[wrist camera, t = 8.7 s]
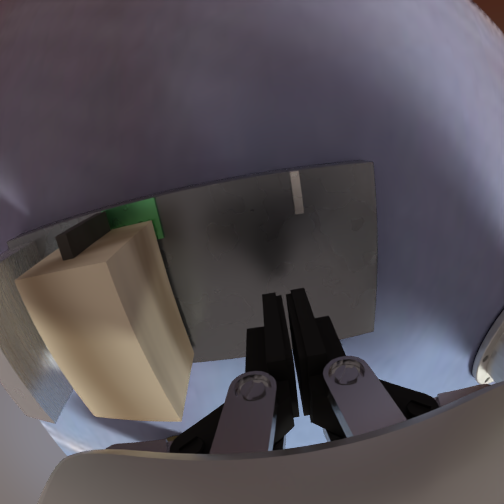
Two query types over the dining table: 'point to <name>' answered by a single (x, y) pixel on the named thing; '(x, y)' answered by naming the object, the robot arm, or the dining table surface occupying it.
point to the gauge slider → (112, 320)
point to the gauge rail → (219, 265)
